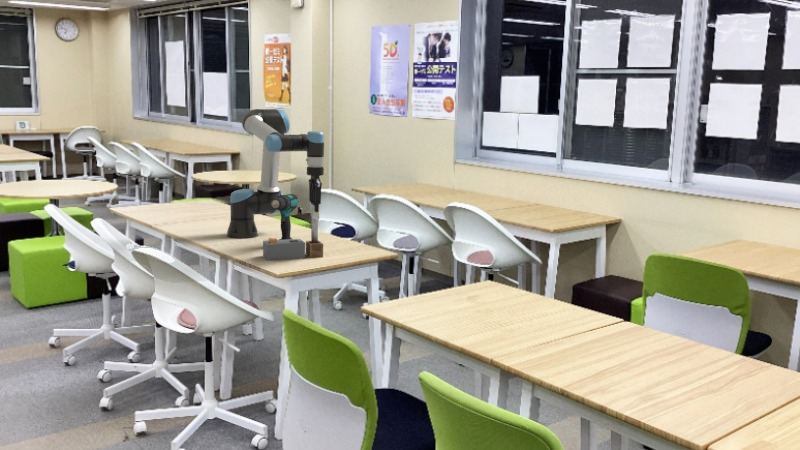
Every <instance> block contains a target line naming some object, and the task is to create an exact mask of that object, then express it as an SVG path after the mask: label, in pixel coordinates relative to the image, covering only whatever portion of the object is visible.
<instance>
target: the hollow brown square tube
mask: <svg viewBox="0 0 800 450" xmlns="http://www.w3.org/2000/svg"><path fill="white" fill-rule="evenodd" d="M305 255H306V256H308V257H309V258H323V257H324V243H323V242H321V241H320V240H319V239H318V243H313V244H311V240H306V241H305Z"/></svg>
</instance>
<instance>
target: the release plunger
mask: <svg viewBox="0 0 800 450" xmlns="http://www.w3.org/2000/svg"><path fill="white" fill-rule="evenodd" d="M268 240H269V243H277V240H278V239H277V238H276V237H271V238H268Z"/></svg>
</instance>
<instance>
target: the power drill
mask: <svg viewBox="0 0 800 450" xmlns="http://www.w3.org/2000/svg"><path fill="white" fill-rule="evenodd" d="M270 204H271V207H272V208H273V209H276V210H279V213H280V232H281V238H280V239H278V240H286V239H293V237H291V231H292V230H291V229H292V225H291V213H292V212H293V211H294V210H295V209H297V208H298V206H299V197H298V196H297V195H296V194H294V193H289V194H283V195H280V196H278V197H277V198H274V199H273V200H272V201H271V203H270Z"/></svg>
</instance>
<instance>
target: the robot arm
mask: <svg viewBox="0 0 800 450" xmlns="http://www.w3.org/2000/svg"><path fill="white" fill-rule="evenodd" d="M290 124H291V123H290V119H289V116H288V113H287V112H286V111H285V110H284V109H279V108H278V109H277V108H269V109H268V108H265V109H264V108H263V109H262V108H255V109H251V110H249V111H247V112H245V114H244V115H243V117H242V120H241V126H242V128H243V131H245V132H246V133H247V134H249V135H252V136H255V137H256V138H258V139H259V140H261V141H262V142H263V143H262V159H261V171H260V173H261V175H260V184H259V185H258V186H257V188H256V189H257V191H255V190H254V189H253V188H242V189H237V190H234V191H233V192H231V193H230V200H229V203H230V221H229V225H228V227H227V231H226V232H227V234H226V235H227V237H229V238H232V239H249V238H250V239H251V238H256V237H258V234H259V233H258V229H257V228H258V227H257V226H256V225H257V224H256V221H255V216H256V215H270V214H271V215H273V214H276V213H280V211H279V210H276V209H273V208H272V207H271V204H270V203H271V201H272V200H273V199H274V198H277V197H278V196H280V195H284V193H283V191H281V188H280V187H279V184H278V183H279V171H280V170H279V169H280V168H279V167H280V158H281V156H280V155H281V152H285V153H286V152H306V159H305V162H306V165H307V167H306V175H307V176H310V178H309V179H308V188H309V189H308V193H309V194H308V196H309V198H308V200H309V203H310V210H311V209H313V219H318V220H320V205H321V203H322V202H321V201H322V185H323V183H322V182H321V179H320V178H321V177H320V176H324V174H325V173H324V170H325V169H324V165H325V156H324V155H325V133H324V131H321V130H320V131H317V130H316V131H315V130H313V131H312V130H310V131H307V132H306V133H300V134H287V133H288V132H289V131H290V127H291V126H290Z"/></svg>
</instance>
